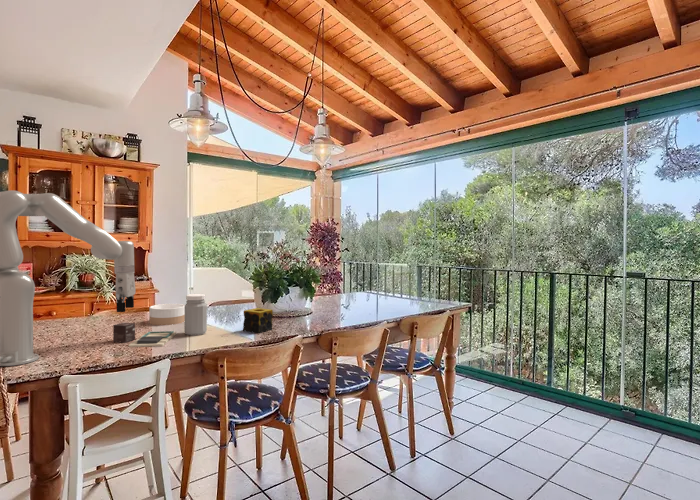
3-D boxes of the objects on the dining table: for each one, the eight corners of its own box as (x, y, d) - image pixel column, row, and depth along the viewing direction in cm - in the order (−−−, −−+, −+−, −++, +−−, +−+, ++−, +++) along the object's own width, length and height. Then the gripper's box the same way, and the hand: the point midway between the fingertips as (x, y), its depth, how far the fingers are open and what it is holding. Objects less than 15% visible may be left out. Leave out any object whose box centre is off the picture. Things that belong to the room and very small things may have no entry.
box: (125, 343, 174) (125, 325, 174) (112, 342, 175) (112, 324, 175) (135, 339, 180) (135, 322, 180) (123, 338, 181) (123, 322, 181)
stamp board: (162, 346, 170) (162, 341, 170) (128, 347, 168) (128, 342, 168) (176, 333, 191) (176, 329, 191) (146, 334, 189) (146, 330, 189)
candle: (242, 331, 199) (242, 310, 199) (256, 327, 208) (256, 307, 208) (259, 333, 194) (259, 312, 194) (272, 329, 203) (273, 309, 203)
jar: (197, 330, 199) (197, 292, 199) (211, 332, 194) (211, 294, 194) (179, 334, 191) (179, 295, 191) (193, 336, 186) (194, 296, 186)
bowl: (192, 321, 221) (192, 305, 221) (162, 326, 206) (162, 310, 206) (172, 317, 230) (172, 302, 230) (142, 322, 215) (142, 306, 215)
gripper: (126, 271, 169) (127, 313, 170) (140, 268, 186) (141, 305, 187) (106, 272, 168) (107, 314, 169) (122, 268, 185) (123, 306, 186)
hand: (125, 309), depth 178 cm, fingers open, 9 cm apart
